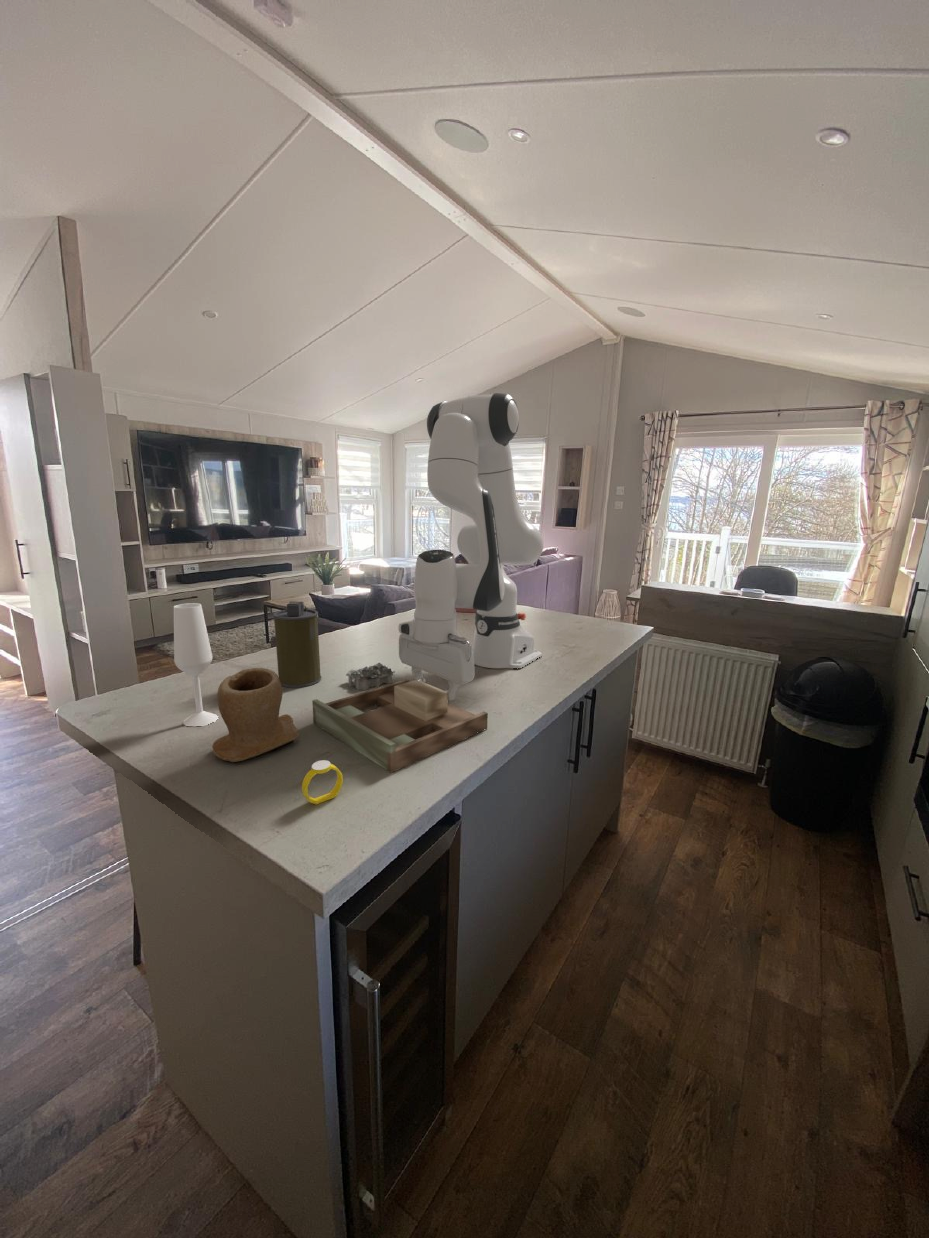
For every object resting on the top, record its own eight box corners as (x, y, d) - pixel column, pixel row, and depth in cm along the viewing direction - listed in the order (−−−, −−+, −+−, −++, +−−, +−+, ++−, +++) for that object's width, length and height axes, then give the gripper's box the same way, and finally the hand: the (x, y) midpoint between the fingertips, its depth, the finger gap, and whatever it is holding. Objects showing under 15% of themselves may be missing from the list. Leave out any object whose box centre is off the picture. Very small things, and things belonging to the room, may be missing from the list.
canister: (314, 688, 120) (309, 607, 115) (271, 687, 120) (264, 606, 116) (327, 673, 131) (323, 598, 126) (287, 672, 131) (282, 597, 126)
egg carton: (359, 693, 119) (358, 676, 118) (344, 684, 124) (343, 668, 123) (397, 682, 125) (396, 667, 124) (381, 674, 131) (380, 659, 130)
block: (416, 698, 110) (416, 679, 109) (447, 712, 103) (447, 692, 102) (394, 706, 106) (394, 686, 104) (425, 721, 99) (425, 699, 98)
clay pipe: (233, 776, 82) (225, 691, 78) (205, 751, 90) (196, 672, 86) (316, 745, 93) (311, 668, 89) (284, 725, 100) (279, 654, 97)
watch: (309, 812, 73) (304, 776, 72) (302, 803, 75) (297, 768, 74) (346, 795, 77) (342, 761, 75) (338, 787, 79) (334, 754, 77)
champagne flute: (223, 721, 102) (211, 606, 96) (186, 730, 97) (171, 610, 92) (213, 710, 107) (201, 600, 101) (178, 719, 102) (164, 604, 97)
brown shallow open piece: (406, 693, 118) (406, 673, 117) (487, 729, 100) (487, 705, 99) (313, 723, 101) (312, 700, 100) (391, 772, 84) (390, 745, 82)
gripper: (482, 637, 98) (480, 702, 101) (415, 619, 112) (415, 677, 115) (459, 642, 94) (458, 711, 97) (393, 623, 108) (394, 683, 111)
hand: (434, 692), depth 106 cm, fingers open, 8 cm apart
